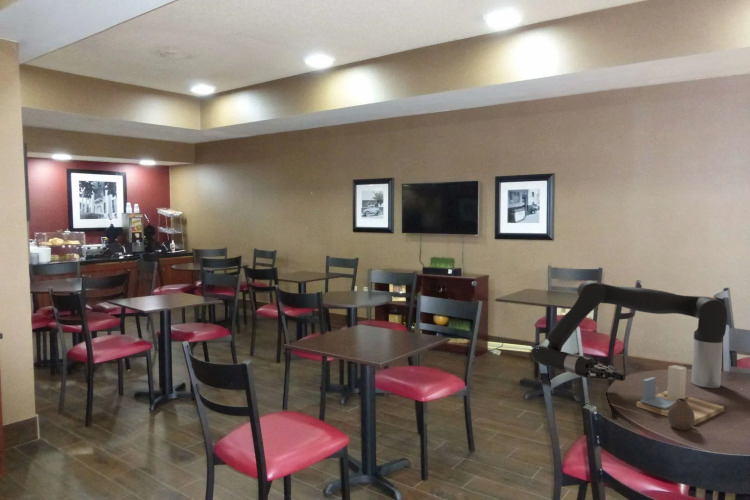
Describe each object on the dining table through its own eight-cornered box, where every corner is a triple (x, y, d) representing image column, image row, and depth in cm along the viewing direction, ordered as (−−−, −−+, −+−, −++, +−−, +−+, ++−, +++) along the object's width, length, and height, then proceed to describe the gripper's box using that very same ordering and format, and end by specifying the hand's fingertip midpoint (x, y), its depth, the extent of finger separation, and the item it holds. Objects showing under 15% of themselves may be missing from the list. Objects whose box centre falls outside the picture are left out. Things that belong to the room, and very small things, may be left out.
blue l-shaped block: (652, 396, 174) (653, 376, 174) (677, 404, 168) (678, 382, 167) (640, 401, 170) (641, 380, 169) (665, 409, 163) (666, 387, 163)
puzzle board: (666, 396, 182) (666, 390, 182) (723, 412, 167) (723, 406, 167) (636, 407, 170) (636, 401, 170) (694, 426, 156) (694, 420, 156)
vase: (690, 425, 157) (692, 397, 156) (696, 434, 150) (698, 405, 150) (665, 421, 159) (666, 394, 159) (670, 430, 153) (671, 402, 152)
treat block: (672, 398, 178) (674, 364, 177) (684, 401, 175) (686, 367, 174) (666, 400, 176) (668, 366, 175) (679, 404, 173) (680, 369, 172)
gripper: (569, 358, 189) (613, 370, 174) (590, 353, 196) (634, 364, 182) (568, 378, 189) (613, 392, 175) (589, 372, 197) (634, 384, 182)
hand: (624, 377), depth 178 cm, fingers closed
